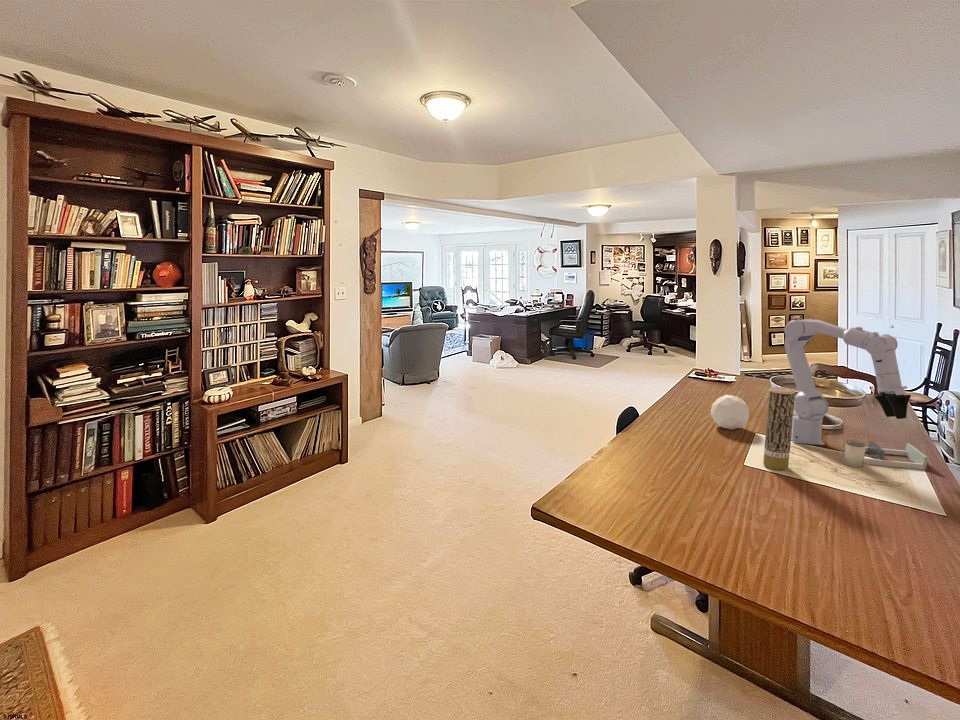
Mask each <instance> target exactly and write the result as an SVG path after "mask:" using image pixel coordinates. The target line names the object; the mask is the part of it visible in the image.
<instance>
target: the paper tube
mask: <svg viewBox="0 0 960 720" xmlns="http://www.w3.org/2000/svg"><path fill="white" fill-rule="evenodd" d="M795 396H796V389H793V388H789V387H781V386H780V387H779V386H775V387H774V386H772V387H769V391H768V401H767V402H768V403H767V412H766V413H767V414H766V425H765V437H764V450H763V459H762V460H763V462H762V463H763V465H764V466H765V467H766V468H769V469H771V470H777V471H784V470H787V469H789V462H790V454H791V453H790V451H791V442H792V440H791V433H792V422H793V416H794V411H795Z"/></svg>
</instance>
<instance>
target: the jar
mask: <svg viewBox="0 0 960 720" xmlns="http://www.w3.org/2000/svg"><path fill="white" fill-rule="evenodd" d="M865 447H867V446H866V442H864V441H862V440H857V439H847V440H846V442H845V446H844V455H843V461H842V462H843V464H844V465H846V466H849V467H853V468H862V467H864V464H865V463H864V461H865V455H866V452H865Z"/></svg>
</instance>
